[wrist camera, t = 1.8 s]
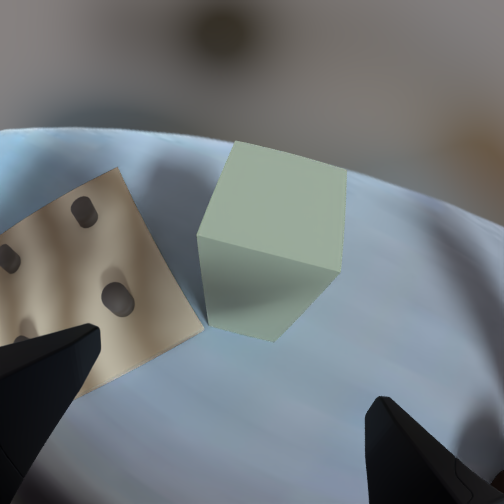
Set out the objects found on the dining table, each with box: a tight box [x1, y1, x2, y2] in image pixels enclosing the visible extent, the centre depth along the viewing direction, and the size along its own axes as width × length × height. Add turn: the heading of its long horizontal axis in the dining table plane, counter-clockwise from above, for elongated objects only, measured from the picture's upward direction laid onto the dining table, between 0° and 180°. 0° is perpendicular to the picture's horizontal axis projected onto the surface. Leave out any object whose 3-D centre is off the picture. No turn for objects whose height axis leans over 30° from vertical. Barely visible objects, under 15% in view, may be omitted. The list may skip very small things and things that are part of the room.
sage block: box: [196, 141, 347, 342], centre depth 17 cm, size 5×5×13 cm
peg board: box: [0, 167, 204, 400], centre depth 20 cm, size 18×18×3 cm
